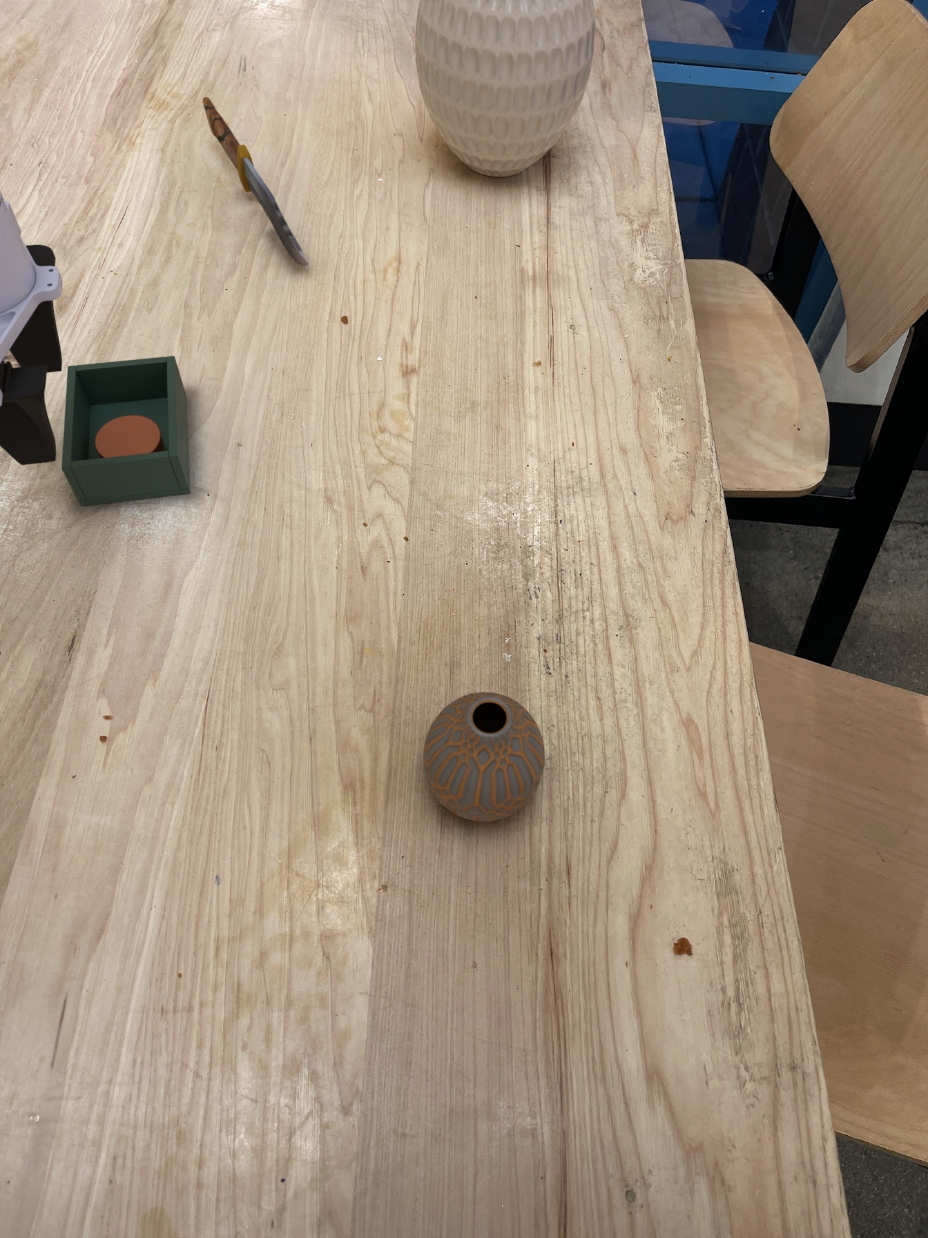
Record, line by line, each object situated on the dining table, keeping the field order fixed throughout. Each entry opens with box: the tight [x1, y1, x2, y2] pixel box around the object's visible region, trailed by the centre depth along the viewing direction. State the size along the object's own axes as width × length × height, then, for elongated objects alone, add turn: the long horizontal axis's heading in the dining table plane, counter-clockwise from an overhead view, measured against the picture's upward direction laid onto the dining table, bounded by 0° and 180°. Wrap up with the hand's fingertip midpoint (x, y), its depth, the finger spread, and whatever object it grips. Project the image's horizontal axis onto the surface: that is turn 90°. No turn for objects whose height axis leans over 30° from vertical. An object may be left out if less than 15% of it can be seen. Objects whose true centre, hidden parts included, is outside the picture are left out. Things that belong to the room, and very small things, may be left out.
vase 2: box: [422, 691, 546, 822], centre depth 50 cm, size 7×7×9 cm
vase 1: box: [414, 0, 596, 178], centre depth 80 cm, size 16×16×22 cm
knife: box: [202, 96, 310, 267], centre depth 81 cm, size 25×1×5 cm, turn 28°
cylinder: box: [95, 415, 167, 458], centre depth 64 cm, size 5×5×2 cm
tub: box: [61, 355, 191, 507], centre depth 65 cm, size 8×10×4 cm
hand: (42, 412), depth 54 cm, fingers open, 7 cm apart
